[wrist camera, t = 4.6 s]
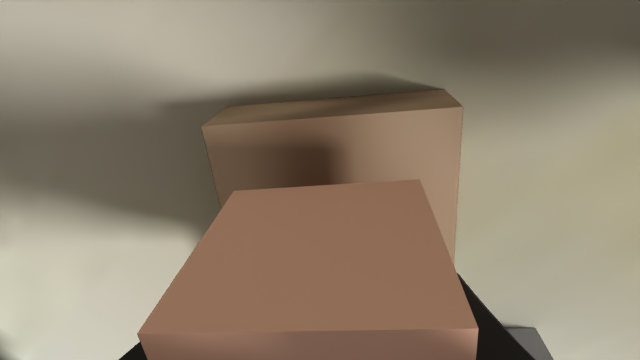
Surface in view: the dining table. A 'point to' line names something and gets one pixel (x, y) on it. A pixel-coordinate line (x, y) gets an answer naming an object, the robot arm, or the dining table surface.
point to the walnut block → (343, 146)
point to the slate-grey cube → (531, 342)
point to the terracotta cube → (317, 281)
